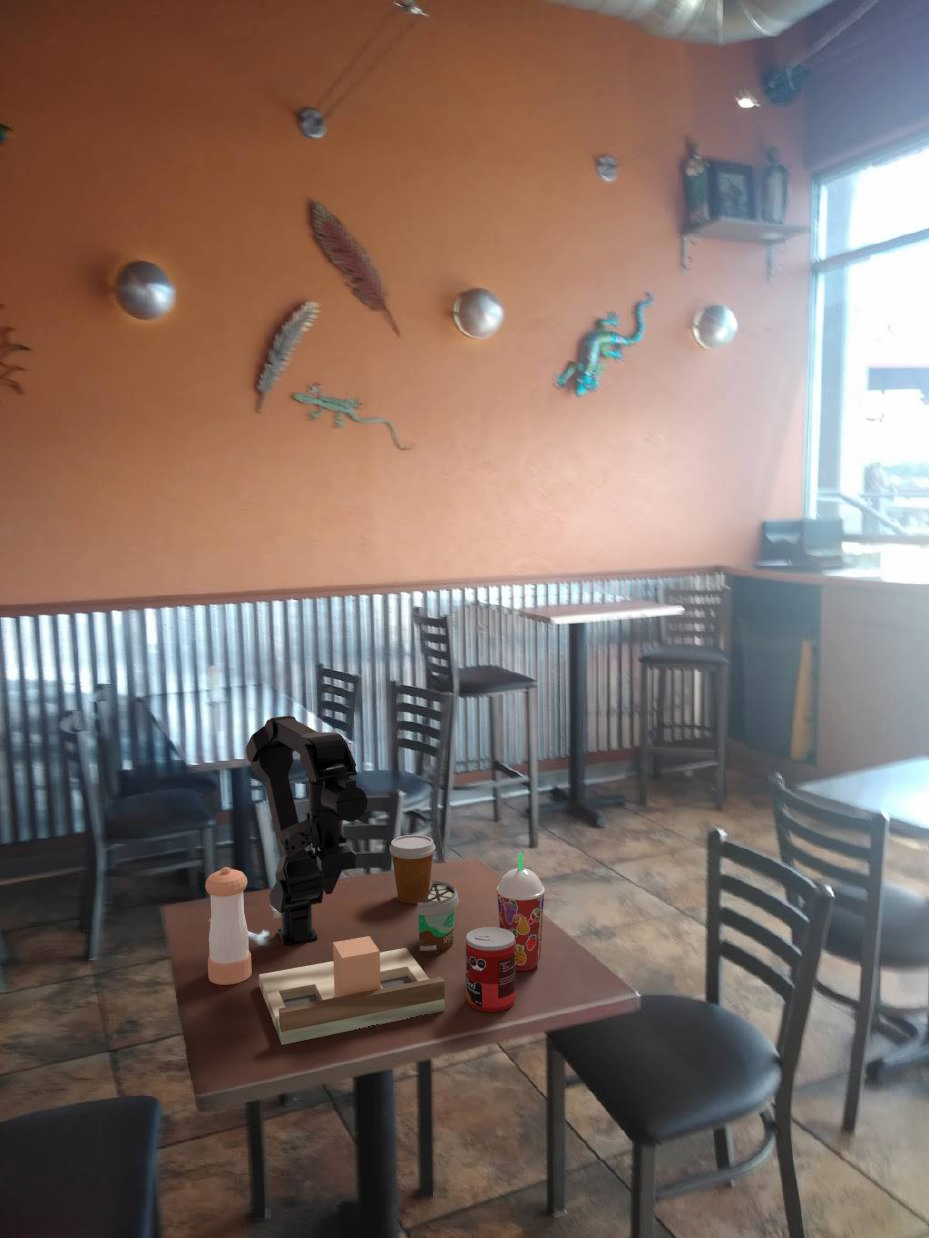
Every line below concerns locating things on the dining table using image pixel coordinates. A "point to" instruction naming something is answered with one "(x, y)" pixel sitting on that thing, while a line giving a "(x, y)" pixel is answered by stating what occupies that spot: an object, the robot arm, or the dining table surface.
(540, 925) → the smoothie
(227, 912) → the salt shaker
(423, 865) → the disposable coffee cup
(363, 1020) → the board
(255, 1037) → the dining table surface
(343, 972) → the block
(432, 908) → the food container
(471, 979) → the canned food
